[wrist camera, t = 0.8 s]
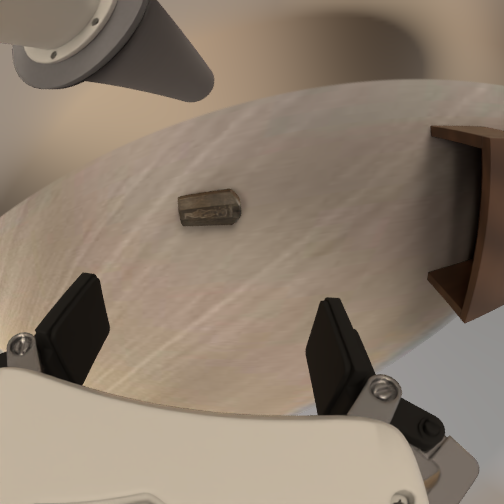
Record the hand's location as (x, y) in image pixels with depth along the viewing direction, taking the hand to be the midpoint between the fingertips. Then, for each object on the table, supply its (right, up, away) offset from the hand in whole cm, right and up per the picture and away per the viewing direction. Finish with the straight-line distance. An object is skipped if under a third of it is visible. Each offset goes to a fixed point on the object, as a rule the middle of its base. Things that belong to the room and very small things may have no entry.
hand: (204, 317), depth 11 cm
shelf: (+28, +9, +16) cm, 34 cm away
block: (-2, +7, +17) cm, 18 cm away
